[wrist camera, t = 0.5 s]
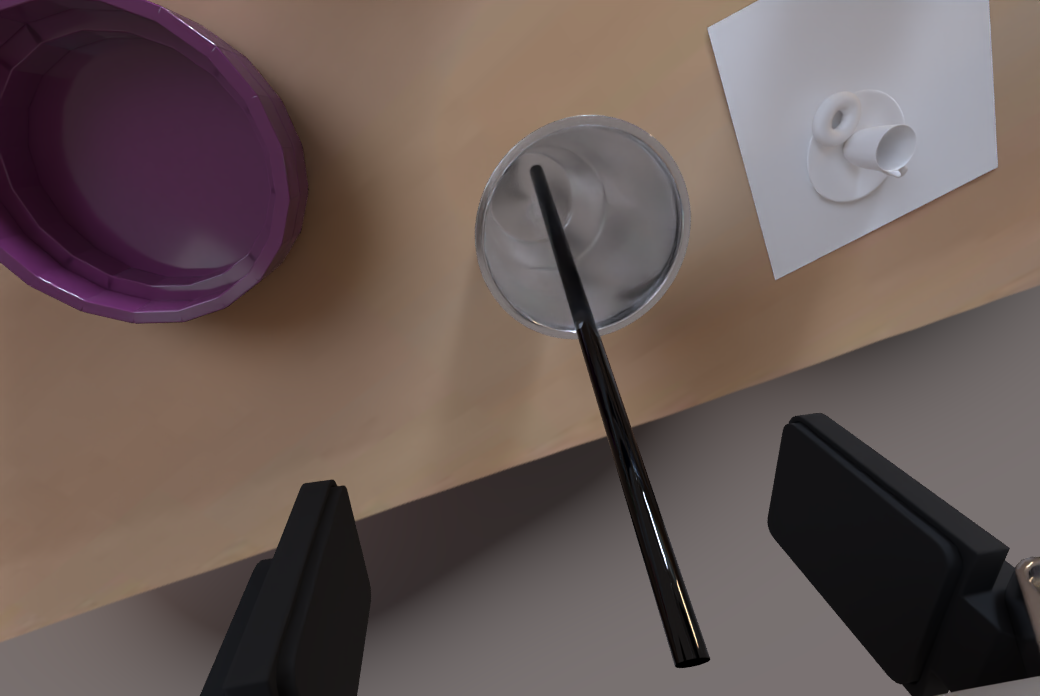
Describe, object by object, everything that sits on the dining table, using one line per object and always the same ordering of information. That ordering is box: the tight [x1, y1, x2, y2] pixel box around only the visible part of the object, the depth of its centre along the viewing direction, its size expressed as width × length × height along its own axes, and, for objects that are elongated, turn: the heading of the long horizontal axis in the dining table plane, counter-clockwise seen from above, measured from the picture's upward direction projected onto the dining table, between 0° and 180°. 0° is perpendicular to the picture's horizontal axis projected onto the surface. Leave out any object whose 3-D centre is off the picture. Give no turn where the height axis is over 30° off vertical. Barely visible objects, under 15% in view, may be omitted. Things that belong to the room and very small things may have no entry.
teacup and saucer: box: [806, 89, 918, 203], centre depth 37 cm, size 9×8×4 cm
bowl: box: [0, 0, 309, 324], centre depth 30 cm, size 18×18×6 cm
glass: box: [475, 115, 710, 668], centre depth 23 cm, size 11×11×30 cm
